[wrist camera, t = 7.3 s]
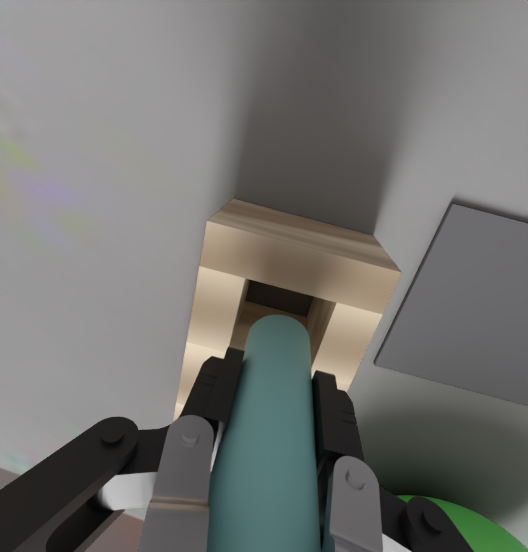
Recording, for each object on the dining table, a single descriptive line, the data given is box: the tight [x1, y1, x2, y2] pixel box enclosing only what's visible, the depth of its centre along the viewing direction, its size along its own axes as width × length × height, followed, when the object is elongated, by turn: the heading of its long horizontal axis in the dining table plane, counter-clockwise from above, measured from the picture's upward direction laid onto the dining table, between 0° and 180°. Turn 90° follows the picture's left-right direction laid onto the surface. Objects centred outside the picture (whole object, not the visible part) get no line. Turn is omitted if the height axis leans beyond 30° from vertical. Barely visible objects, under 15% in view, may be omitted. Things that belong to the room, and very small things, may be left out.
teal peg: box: [206, 315, 321, 552], centre depth 11 cm, size 3×3×10 cm
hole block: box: [173, 199, 402, 472], centre depth 21 cm, size 18×9×6 cm, turn 166°
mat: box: [374, 203, 528, 406], centre depth 21 cm, size 12×12×1 cm
